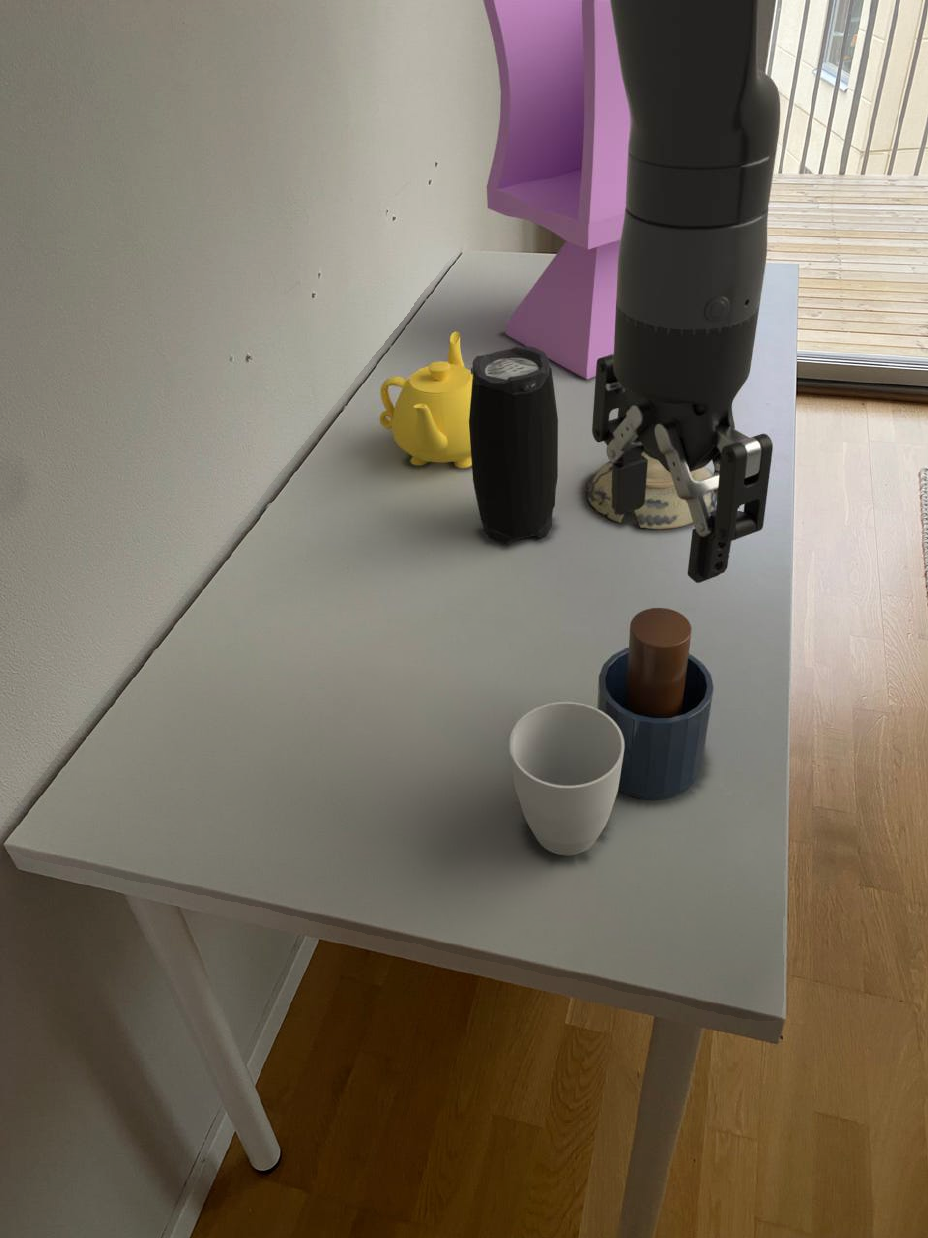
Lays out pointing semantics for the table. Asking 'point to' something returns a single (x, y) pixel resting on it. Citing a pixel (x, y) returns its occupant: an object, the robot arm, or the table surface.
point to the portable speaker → (514, 442)
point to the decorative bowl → (649, 497)
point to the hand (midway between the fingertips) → (664, 540)
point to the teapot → (433, 411)
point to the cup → (566, 773)
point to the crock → (658, 732)
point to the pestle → (657, 663)
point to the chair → (563, 167)
